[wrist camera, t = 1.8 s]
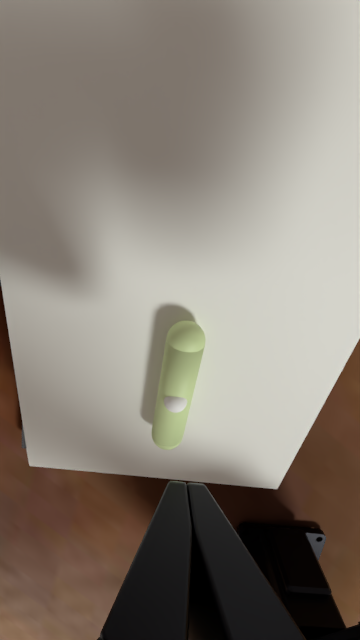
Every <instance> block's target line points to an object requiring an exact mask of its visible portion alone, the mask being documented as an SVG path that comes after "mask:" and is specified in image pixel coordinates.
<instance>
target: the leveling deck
mask: <svg viewBox="0 0 360 640" xmlns="http://www.w3.org/2000/svg"><path fill="white" fill-rule="evenodd" d="M0 280H1V287H2V293H3V300H4V306H5V313H6V319H7V326H8V332H9V339H10V345H11V351H12V358H13V364H14V371H15V377H16V384H17V390H18V397H19V403H20V410H21V416H22V422H23V429H24V435H25V442H26V448H27V455H28V461H29V466H37V467H48V468H58V469H69V470H79V471H90V472H100V473H111V474H121V475H132V476H143V477H153V478H164V479H174V480H185V481H195V482H206V483H216V484H227V485H237V486H248V487H259V488H269V489H278V487H279V485H280V483H281V481H282V480H283V478H284V476H285V474H286V472H287V470H288V469H289V467H290V465H291V463H292V461H293V459H294V458H295V456H296V454H297V452H298V450H299V448H300V447H301V445H302V443H303V441H304V439H305V437H306V436H307V434H308V432H309V430H310V428H311V426H312V425H313V423H314V421H315V419H316V417H317V415H318V414H319V412H320V410H321V408H322V406H323V404H324V403H325V401H326V399H327V397H328V395H329V393H330V392H331V390H332V388H333V386H334V384H335V382H336V381H337V379H338V377H339V375H340V373H341V371H342V370H343V368H344V366H345V364H346V362H347V360H348V359H349V357H350V355H351V353H352V351H353V349H354V348H355V346H356V344H357V342H358V340H359V338H360V0H0Z"/></svg>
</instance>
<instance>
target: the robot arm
mask: <svg viewBox="0 0 360 640" xmlns="http://www.w3.org/2000/svg"><path fill="white" fill-rule="evenodd" d="M325 541H326V537H325V535H324V533H323V531H322V530H320V529H312V528H300V527H288V526H277V525H265V524H253V523H242V524H240V525H239V527H238V530H237V533H236V531H235V530H234V528H233V527H232V525H231V524H230V522H229V521H228V519H227V518H226V516H225V515H224V513H223V512H222V510H221V508H220V507H219V505H218V504H217V502H216V501H215V499H214V498H213V496H212V495H211V493H210V492H209V490H208V489H207V487H206V486H205V485H204V484H199V483H188V484H187V485H186V483H185V482H178V481H170V482H169V483H168V484H167V486H166V489H165V491H164V493H163V495H162V497H161V500H160V502H159V504H158V506H157V509H156V511H155V513H154V515H153V517H152V520H151V522H150V524H149V526H148V529H147V531H146V533H145V535H144V537H143V540H142V542H141V544H140V546H139V549H138V551H137V553H136V555H135V558H134V560H133V562H132V564H131V566H130V569H129V571H128V573H127V575H126V578H125V580H124V582H123V584H122V586H121V589H120V591H119V593H118V595H117V598H116V600H115V602H114V604H113V606H112V609H111V611H110V613H109V615H108V618H107V620H106V622H105V624H104V626H103V629H102V631H101V633H100V637H99V638H98V639H97V640H360V622H358V623H359V624H358V625H355V626H352V627H349V628H346V626H345V624H344V621H343V619H342V617H341V615H340V612H339V610H338V608H337V606H336V603H335V601H334V599H333V596H332V594H331V589H330V586H329V584H328V582H327V580H326V577H325V575H324V573H323V571H322V568H321V566H320V564H319V562H318V560H319V557H320V554H321V552H322V549H323V546H324V543H325Z"/></svg>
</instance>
